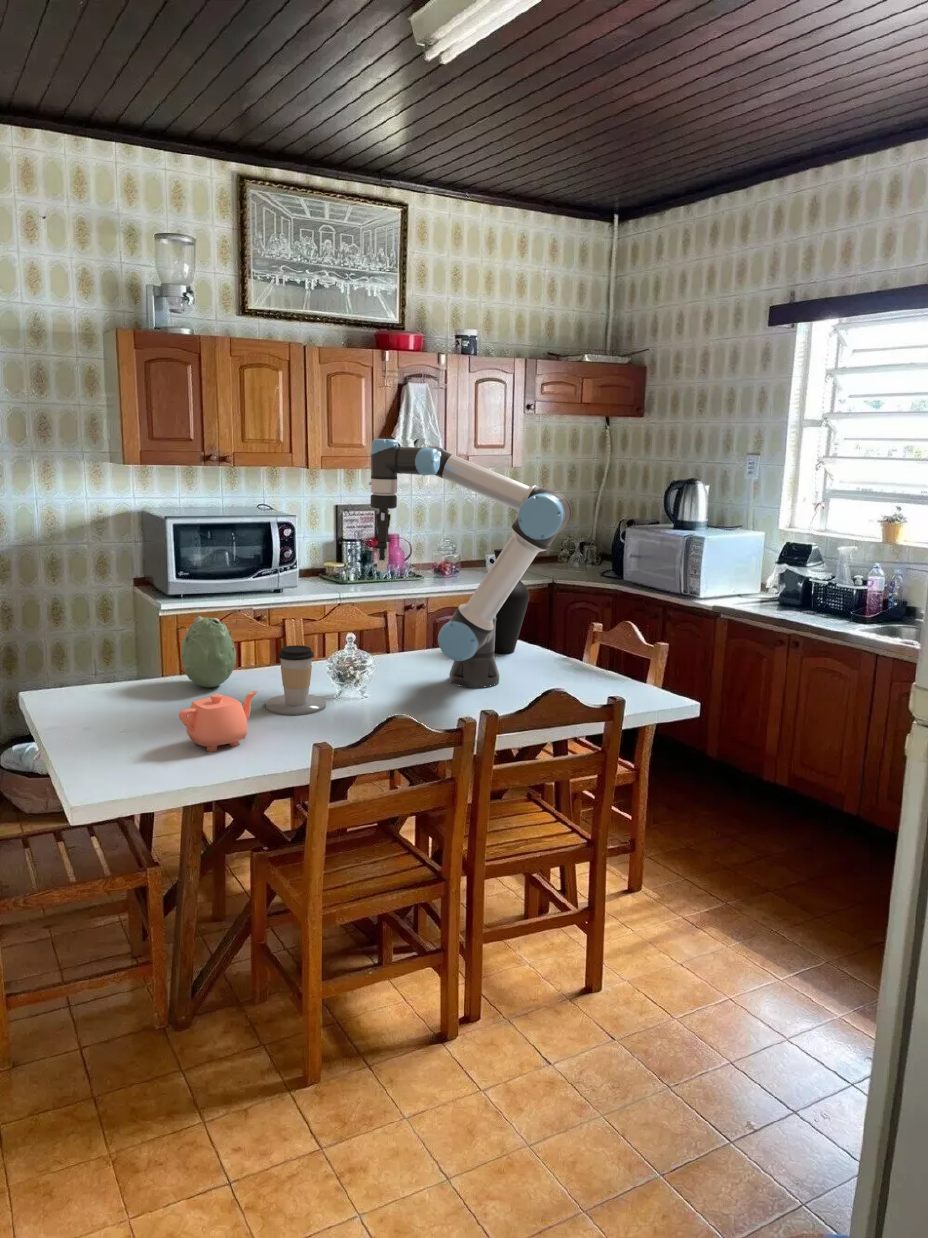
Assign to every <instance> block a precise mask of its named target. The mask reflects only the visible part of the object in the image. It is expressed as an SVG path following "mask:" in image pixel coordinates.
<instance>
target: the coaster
mask: <svg viewBox="0 0 928 1238" xmlns="http://www.w3.org/2000/svg"><path fill="white" fill-rule="evenodd" d="M326 707H327V701H326V699H324V698H323V697H321V696H317V695H313V694H308V702H307V703H306V704H304V705H300V706H293V705H288V704H286V703H285V695H284V694H282V695H277V696H274V697H272V698H269V699H268V700H266V702H265V709H266V710H267V711H268V712H270V713H272V714H277V715H282V716H283V715H284V716H304V715H305V716H306V715H312V714H316V713H319V712H321V711H323V710H325V709H326Z"/></svg>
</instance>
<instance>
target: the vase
mask: <svg viewBox="0 0 928 1238" xmlns="http://www.w3.org/2000/svg"><path fill="white" fill-rule="evenodd" d="M502 550H503V548H496V549H495V548H494V549H493V553H494V557H495V560H496V559H497V558H498V556H499V554H500V553H501V551H502ZM529 601H530V592H529V589H528V588H527V586H526V585H525V584H524V583H523V582H522V580H521V579H520V580H519V582H518V583H517V585H516V586H515V587H514V589H513V590H512V592H511V593H510V595H509V596H508V598H507V599H506V601H505V602H504V604H503V605H502V607H501V608H500V610H499V611H498V613H497V614H496V627H495V650H494V654H498V655H511V654H513V653H515V650H516V646H517V643H518V640H519V636H520V633H521V629H522V625H523V622H524V618H525V616H526V611H527V609H528V605H529Z"/></svg>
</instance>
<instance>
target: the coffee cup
mask: <svg viewBox="0 0 928 1238" xmlns="http://www.w3.org/2000/svg"><path fill="white" fill-rule="evenodd" d="M277 657H278V658H279V660H280V671H281V681H282V687H283V692H284V694H283V695H285V703H286V704H288V705H293V706H300V705H304V704H306V703H307V702H308V695H310V694H309V692H310V686H311V679H312V678H311V677H312V670H313V669H312V668H313V665H312V663H313V658H314V657H315V655H314V651H312V648H311V647H310V646H306V645H296V644H294V645H287V646H282V647H281V649H280V651H279V653H278V656H277Z"/></svg>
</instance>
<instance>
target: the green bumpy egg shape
mask: <svg viewBox="0 0 928 1238" xmlns="http://www.w3.org/2000/svg"><path fill="white" fill-rule="evenodd" d="M231 636H232V630H230V631H229V630H228V627H227V625H226V624H225V622H224V621H222V622H221V620H220V619H219V618H217V617H214V618H213V617H205V616H204V617H202V616H200V615H199V616H196V617H194V619H193V622H192V623H191V624H190V626H189V627H188V629H187V632H186V634H185V636H184V639H183V640H182V644H181V664H182V666H183V670H184V673H185V675H186V676H187V678H188V680H190V681H191V682H192V683H194V684H196V685H198V686H201V687H202V688H216V687H218V686H220V685H222V684H224V683H225V682H226V681H227V680H228V679H229V678H230V676H231V675H232V672H233V671H234V668H235V666H236V665H237V664H236V659H237V653H236V651H237V649H236V648H235V643H234V639H233V638H232V637H231Z"/></svg>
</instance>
